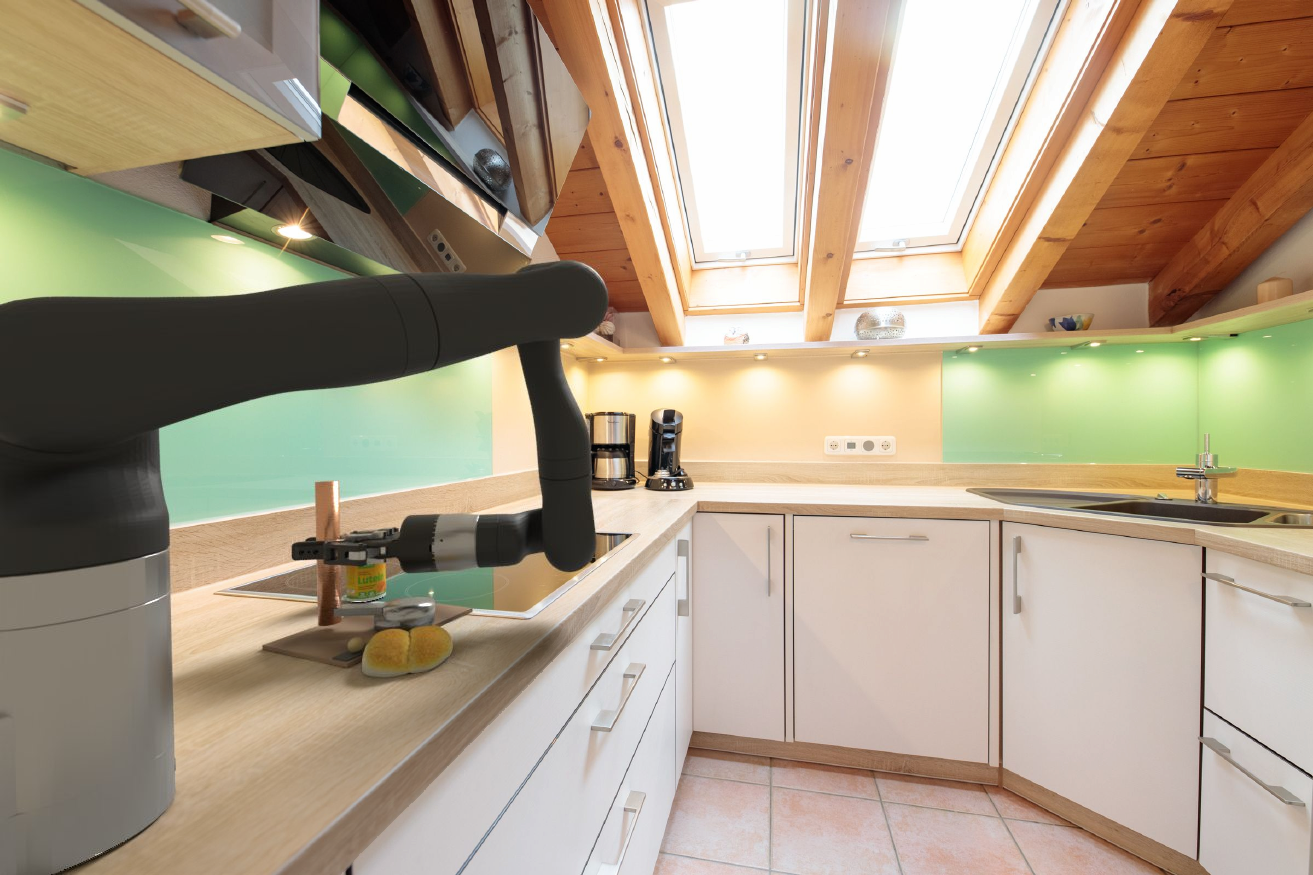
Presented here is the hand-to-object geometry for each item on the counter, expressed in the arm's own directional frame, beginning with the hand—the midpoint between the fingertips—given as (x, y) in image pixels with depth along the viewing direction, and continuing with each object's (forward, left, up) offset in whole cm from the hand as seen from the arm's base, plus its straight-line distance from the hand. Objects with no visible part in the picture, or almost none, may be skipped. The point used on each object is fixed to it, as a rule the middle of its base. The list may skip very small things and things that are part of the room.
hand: (300, 548), depth 66 cm
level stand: (+5, -7, -11) cm, 14 cm away
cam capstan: (+4, -8, -10) cm, 14 cm away
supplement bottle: (+14, +6, -11) cm, 19 cm away
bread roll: (-1, -19, -12) cm, 22 cm away
